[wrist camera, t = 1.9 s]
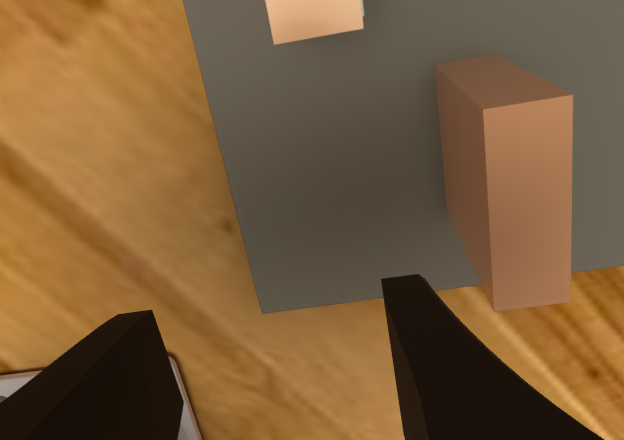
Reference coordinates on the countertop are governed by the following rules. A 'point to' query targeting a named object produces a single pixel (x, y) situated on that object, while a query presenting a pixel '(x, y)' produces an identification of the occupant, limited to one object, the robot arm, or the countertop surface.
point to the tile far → (508, 177)
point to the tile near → (312, 18)
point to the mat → (393, 136)
